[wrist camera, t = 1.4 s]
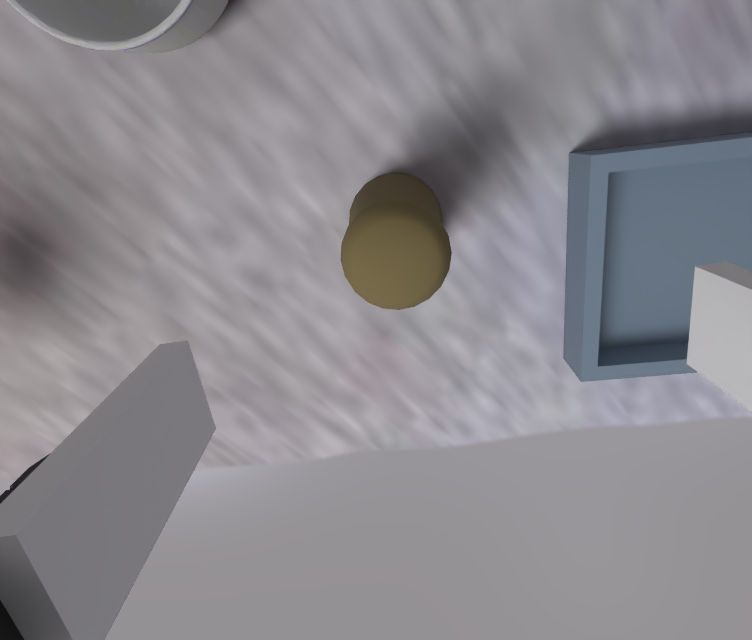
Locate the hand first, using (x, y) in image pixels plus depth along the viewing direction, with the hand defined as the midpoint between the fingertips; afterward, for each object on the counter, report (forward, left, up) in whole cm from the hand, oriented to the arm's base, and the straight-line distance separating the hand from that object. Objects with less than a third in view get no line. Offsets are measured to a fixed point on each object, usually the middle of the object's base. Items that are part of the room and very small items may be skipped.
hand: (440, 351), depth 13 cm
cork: (+1, 0, -20) cm, 20 cm away
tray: (-20, +4, -20) cm, 29 cm away
